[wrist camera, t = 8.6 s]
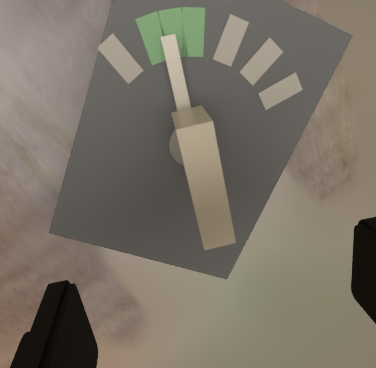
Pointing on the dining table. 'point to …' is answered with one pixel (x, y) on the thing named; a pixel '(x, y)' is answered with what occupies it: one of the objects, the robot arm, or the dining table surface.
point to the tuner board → (198, 95)
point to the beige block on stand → (198, 156)
